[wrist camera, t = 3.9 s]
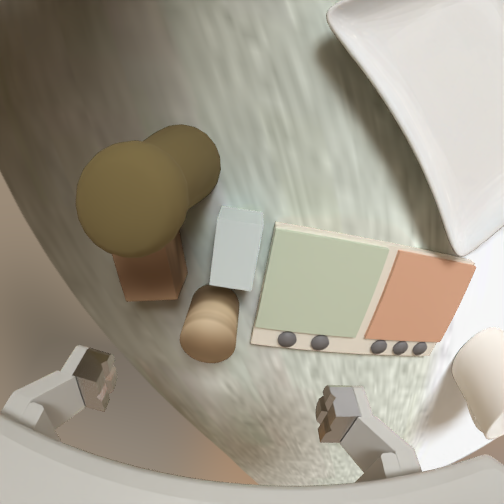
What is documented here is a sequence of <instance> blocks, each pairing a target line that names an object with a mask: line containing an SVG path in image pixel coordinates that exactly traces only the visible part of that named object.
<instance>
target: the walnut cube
mask: <svg viewBox="0 0 504 504" xmlns="http://www.w3.org/2000/svg"><path fill="white" fill-rule="evenodd" d="M112 256H113V259H114V263H115V266H116V270H117V273H118V276H119V280H120V283H121V286H122V289H123V292H124V296H125V299H126V302H128V301H153V300H174V299H178V296H179V293H180V291H181V288H182V286H183V283H184V281H185V278H186V276H187V273H188V272H187V267H186V262H185V257H184V252H183V247H182V242H181V237H180V232H179V231H178V233H177V234H176V236H175V238H174V239H173V240H172V241H171V242H169V243H168V244H167V245H166V246H165V247H163V248H162V249H161V250H159V251H157V252H155V253H152V254H150V255H147V256H144V257H142V258H124V257H121V256H117V255H114V254H112Z"/></svg>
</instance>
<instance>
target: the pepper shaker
mask: <svg viewBox="0 0 504 504" xmlns="http://www.w3.org/2000/svg"><path fill="white" fill-rule="evenodd" d="M220 170H221V167H220V156H219V153H218V151H217V148H216V146H215V144H214V143H213V141H212V140H211V139H210V138H209V137H208V135H207V134H205V133H204V132H202V131H200V130H199V129H197V128H195V127H192V126H187V125H182V124H181V125H172V126H168V127H166V128H163V129H161V130H159V131H157V132H156V133H154V134H153V135H151V136H150V137H148V138H147V139H145V140H144V141H143V142H141V141H136V140H135V141H128V142H121V143H116V144H113V145H111V146H109V147H107V148H105V149H104V150H102V151H100V152H98V153H97V154H96V155H95V156H94V158H93V159H92V160H91V161H90V162H89V163H88V164H87V166H86V167H85V168H84V169H83V172H82V174H81V177H80V179H79V181H78V184H77V193H76V209H77V214H78V219H79V221H80V223H81V225H82V227H83V229H84V231H85V233H86V234H87V236H88V237H89V238H90V239H91V240H92V241H93V242H94V244H95V245H97V246H98V247H100V248H101V249H103V250H105V251H106V252H108V253H111V254H114V255H117V256H121V257H124V258H142V257H144V256H147V255H150V254H152V253H155V252H157V251H159V250H161V249H162V248H163V247H165V246H166V245H167V244H168V243H169V242H171V241H172V240H173V239H174V238H175V236H176V234H177V233H178V231H179V229H180V228H181V226H182V224H183V223H184V221H185V219H186V214H187V210H188V209H189V208H191V207H192V206H194V205H195V204H197V203H198V202H200V201H201V200H202V199H204V198H205V197H206V196H207V195H209V194H210V193H211V191H212V190H213V188H214V187H215V185H216V184H217V182H218V178H219V174H220Z"/></svg>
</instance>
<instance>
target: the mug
mask: <svg viewBox="0 0 504 504" xmlns="http://www.w3.org/2000/svg"><path fill="white" fill-rule="evenodd" d="M452 374H453V377H454V380H455V382H456V383H457V385H458V387H459V389H460V390H461V392H462V394H463V396H464V398H465V399H466V401H467V406H468V409H469V412H470V415H471V417H472V420H473V422H474V424H475V426H476V427H477V428H478V429H479V430H480V431H481V432H483V433H484V435H485V437H486V439H495V438H497V437H500V436H502V435H504V331H503V330H502V329H500V328H496V327H491V328H487V329H484V330H482V331H480V332H478V333H477V334H475V335H474V336H473V337H472V338H470V339H469V340H468V341H467V342H466V343H465V344H464V345H463V347H462V348H461V349H460V351H459V352H458V354H457V355H456V357H455V359H454V362H453V366H452ZM474 416H475V417H474ZM475 418H476V419H475Z"/></svg>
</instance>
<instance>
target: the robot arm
mask: <svg viewBox="0 0 504 504" xmlns="http://www.w3.org/2000/svg"><path fill="white" fill-rule="evenodd" d="M114 362H115V358H114V355H113V354H109V353H106V352H103V351H99V350H96V349H93V348H89V347H86V346H82V345H78V346H76V347H75V349H74V350H73V352H72V353H71V355H70V356H69V358H68V360H67V361H66V363H65V365H64V366H63V368H62V369H61V371H55V372H53V373H51V374H49V375H47V376H45V377H43V378H41V379H39V380H37V381H35V382H32V383H30V384H28V385H26V386H24V387H22V388H20V389H18V390H16V391H14V392H13V393H12V395H11V397H10V398H9V400H8V401H7V403H6V404H5V406H4V407H3V409H2V411H1V412H0V504H504V465H503V464H502V463H500V462H499V461H497V460H496V459H495V458H493V457H491V456H489V455H482V456H478V457H475V458H472V459H469V460H465V461H462V462H459V463H455V464H452V465H448V466H444V467H440V468H437V469H432V470H428V471H424V472H422V470H421V467H420V464H419V461H418V458H417V455H416V452H415V449H414V448H413V447H412V446H411V445H409V444H408V443H407V442H406V441H405V440H404V439H402V438H401V437H400V436H399V435H398V434H397V433H395V432H394V431H393V430H392V429H391V428H390V427H388V426H387V425H386V424H385V423H384V422H383V421H382V420H380V419H379V418H378V417H377V416H373V413H372V410H371V407H370V404H369V401H368V398H367V395H366V392H365V389H364V387H363V386H340V385H327V386H326V387H325V388H324V390H323V395H324V396H322V397H321V398H319V400H318V402H317V406H316V420H317V421H318V422H319V423H320V424H321V425H320V426H319V428H318V433H319V439H320V442H327V443H340V444H341V446H342V447H343V448H344V449H345V451H346V452H347V453H348V454H349V455H350V457H351V458H352V459H353V460H354V461H355V463H356V464H357V465H358V466H359V467H360V469H361V470H362V471H363V472H364V474H363V475H362V476H361V477H360V478H359V479H358V480H357V481H356V482H355V483H346V484H333V485H313V486H272V485H251V484H237V483H228V482H218V481H210V480H203V479H196V478H189V477H184V476H178V475H173V474H168V473H163V472H158V471H153V470H149V469H145V468H141V467H137V466H133V465H129V464H125V463H122V462H118V461H115V460H111V459H108V458H104V457H102V456H98V455H95V454H93V453H89V452H87V451H84V450H80V449H78V448H75V447H73V446H70V445H67V444H65V443H62V442H61V440H60V438H59V436H58V434H57V433H56V431H55V429H57V428H58V427H59V426H61V425H62V424H63V423H65V422H66V421H68V420H69V419H70V418H72V417H73V416H75V415H76V414H77V413H79V412H80V411H81V410H83V409H84V408H85V407H89V408H92V409H96V410H100V411H103V412H105V410H106V407H107V405H108V403H109V400H110V399H109V393H111V392H113V391H114V388H115V386H116V381H117V371H116V368H115V367H114V366H113V364H114Z"/></svg>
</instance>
